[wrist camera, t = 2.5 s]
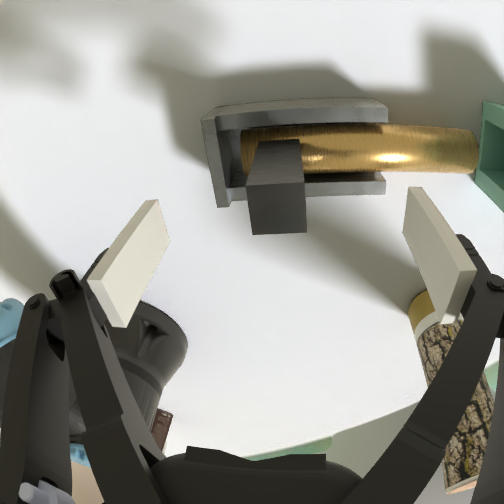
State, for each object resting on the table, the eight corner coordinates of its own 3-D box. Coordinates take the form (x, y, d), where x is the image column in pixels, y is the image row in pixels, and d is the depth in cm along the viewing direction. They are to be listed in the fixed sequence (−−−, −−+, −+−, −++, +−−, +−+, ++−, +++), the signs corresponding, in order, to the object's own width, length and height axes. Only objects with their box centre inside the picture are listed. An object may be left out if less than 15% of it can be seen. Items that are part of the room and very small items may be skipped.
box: (155, 407, 64) (142, 453, 54) (173, 414, 65) (162, 460, 55) (149, 414, 67) (137, 456, 57) (166, 420, 68) (155, 463, 58)
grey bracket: (228, 180, 31) (217, 207, 26) (216, 107, 26) (200, 120, 22) (372, 173, 28) (388, 199, 24) (373, 98, 24) (392, 110, 20)
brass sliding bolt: (250, 167, 28) (227, 243, 18) (244, 124, 26) (215, 179, 16) (456, 164, 25) (525, 232, 15) (460, 124, 23) (539, 178, 13)
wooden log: (413, 285, 36) (465, 482, 16) (457, 283, 35) (522, 461, 15) (401, 322, 40) (435, 498, 20) (443, 319, 39) (487, 482, 19)
